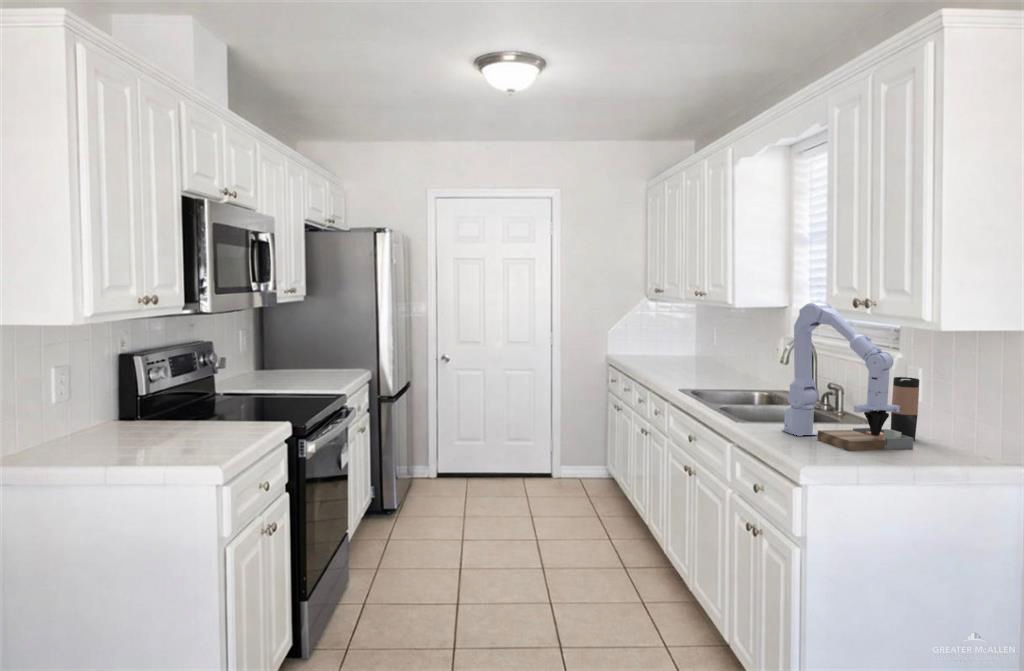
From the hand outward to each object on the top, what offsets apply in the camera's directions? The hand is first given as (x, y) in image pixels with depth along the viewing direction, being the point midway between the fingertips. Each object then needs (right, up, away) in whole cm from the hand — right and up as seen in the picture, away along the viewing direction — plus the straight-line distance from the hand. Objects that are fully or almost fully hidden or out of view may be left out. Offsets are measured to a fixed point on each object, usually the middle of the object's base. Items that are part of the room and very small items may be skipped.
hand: (875, 435), depth 227 cm
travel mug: (+16, -3, +14) cm, 22 cm away
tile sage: (+5, -1, +1) cm, 5 cm away
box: (+5, -4, +6) cm, 8 cm away
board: (-6, -4, +4) cm, 8 cm away
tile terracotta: (+5, -1, +9) cm, 10 cm away
